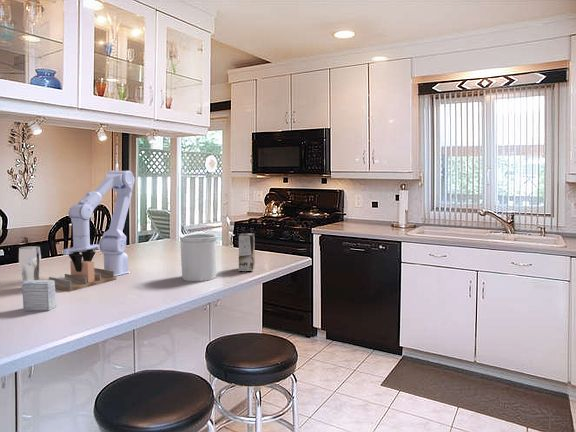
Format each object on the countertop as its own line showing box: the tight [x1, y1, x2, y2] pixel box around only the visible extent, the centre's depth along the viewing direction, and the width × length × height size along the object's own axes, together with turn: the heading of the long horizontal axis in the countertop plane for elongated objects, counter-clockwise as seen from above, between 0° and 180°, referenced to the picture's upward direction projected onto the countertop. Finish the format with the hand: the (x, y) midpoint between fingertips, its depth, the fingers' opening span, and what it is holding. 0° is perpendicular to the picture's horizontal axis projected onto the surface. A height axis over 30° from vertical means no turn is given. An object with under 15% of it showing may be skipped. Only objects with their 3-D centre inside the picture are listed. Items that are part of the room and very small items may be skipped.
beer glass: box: [18, 245, 42, 285], centre depth 158 cm, size 7×7×15 cm
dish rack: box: [48, 267, 117, 292], centre depth 166 cm, size 20×13×4 cm, turn 152°
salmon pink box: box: [69, 259, 95, 283], centre depth 166 cm, size 10×3×8 cm, turn 63°
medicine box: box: [21, 279, 57, 312], centre depth 133 cm, size 8×4×9 cm, turn 92°
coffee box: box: [238, 232, 256, 272], centre depth 191 cm, size 9×6×16 cm
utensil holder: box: [179, 232, 218, 282], centre depth 176 cm, size 15×15×18 cm
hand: (82, 270), depth 166 cm, fingers open, 3 cm apart
